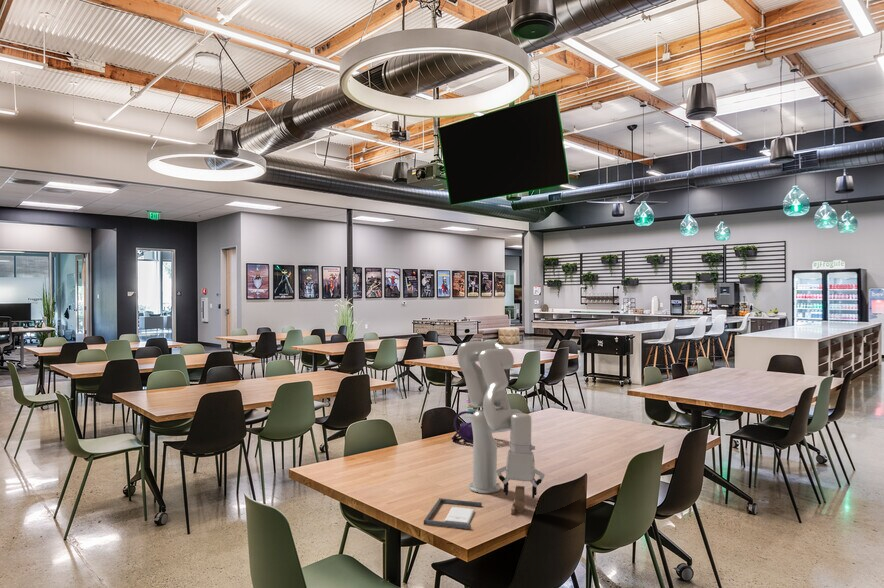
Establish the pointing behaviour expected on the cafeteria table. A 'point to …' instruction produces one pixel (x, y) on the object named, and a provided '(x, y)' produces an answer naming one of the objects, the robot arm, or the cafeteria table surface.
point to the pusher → (518, 500)
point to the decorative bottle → (465, 425)
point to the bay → (449, 524)
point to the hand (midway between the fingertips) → (520, 495)
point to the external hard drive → (459, 515)
